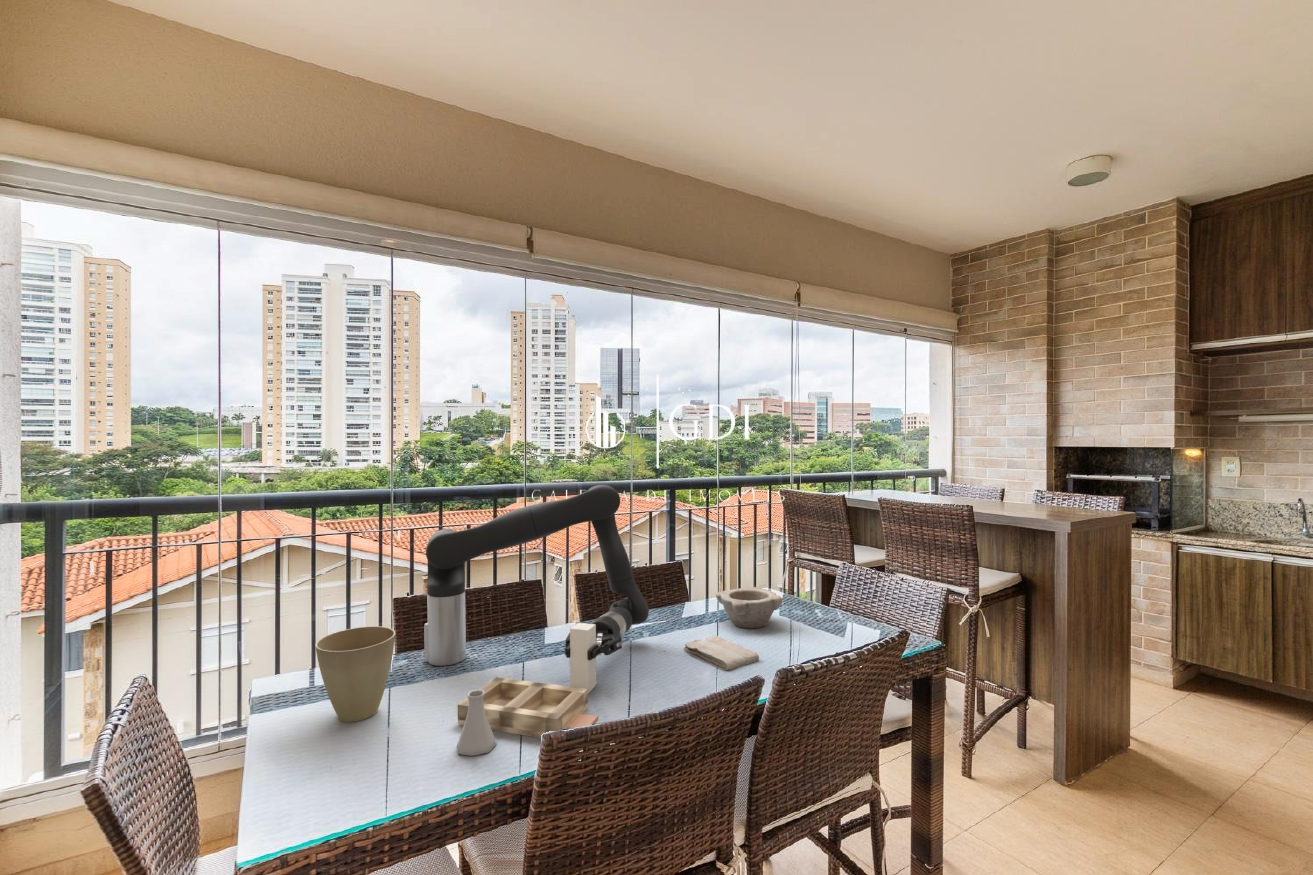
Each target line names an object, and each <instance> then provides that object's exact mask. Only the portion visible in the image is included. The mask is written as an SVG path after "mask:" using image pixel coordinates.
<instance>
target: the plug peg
mask: <svg viewBox="0 0 1313 875" xmlns="http://www.w3.org/2000/svg"><path fill="white" fill-rule="evenodd" d="M569 633H570V658H569V659H570V660H569V664H570V665H569V666H570V669H569V670H570V675H569V676H570V680H569V681H570V687H576V688H584V689H588V694H589V693H590V692H592V690H593V689H594V688H595V687H596V686H597V657H595V658H593V659H592V660H588V659H587V652H588V650H589V649H590V648H591V647H592V646H594V645H596V624H591V623H586V622H585V623H584V622H583V623H582V622H577V623H576V624H575V625H573V626H572V627H570V628H569Z"/></svg>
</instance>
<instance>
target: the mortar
mask: <svg viewBox="0 0 1313 875" xmlns="http://www.w3.org/2000/svg"><path fill="white" fill-rule="evenodd" d="M715 598H716V600H717V601H718V603H719V604H721V605H722V607H723V609H724V611H725V613H726V615H727V617H728V618H729V621H731V623H732V624H733V625H735V626H736V627H740V628H745V629H759V628H763V627H764V626H766V625H767V624H768V623H769V621H770V619H771V617H772V616H773V613H774V611H776V610H778V609H779V608H780V606H781V605H782V603H783V599H782V597H781V596H780V595H777V593H776V592H774V591H772V590H769V589H766V588H762V587H758V586H753V587H743V588H734V589H728V590H720V591H717V592H716V593H715Z"/></svg>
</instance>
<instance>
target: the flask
mask: <svg viewBox="0 0 1313 875" xmlns="http://www.w3.org/2000/svg"><path fill="white" fill-rule="evenodd" d="M466 695H467V698H468V699H469V707H468V713H467V717H466V720H465V723H464V725H462V730H461V732H460V735H459V739H458V741H457V743H456V750H457V754H458V755H462V756H464V755H465V756H477V755H483V754H486V753H491V752H490V751H491V750H492V749H494V747H495V746H496V745H497V742H496V738H495V735H494V733H493V730H491V728H490V725H489V722H488V720H487V717H486V714H485V709H484V704H483V697H484V696H485V692H484V690H479V689H475V690H474V689H473V690H470V691H469V692H467V694H466Z"/></svg>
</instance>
